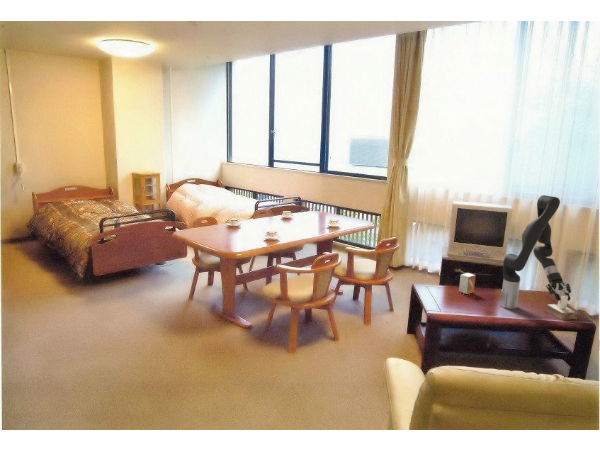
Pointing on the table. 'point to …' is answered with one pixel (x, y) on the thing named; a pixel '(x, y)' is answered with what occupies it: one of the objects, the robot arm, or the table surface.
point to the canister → (562, 302)
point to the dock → (561, 312)
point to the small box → (467, 283)
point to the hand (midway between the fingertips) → (564, 300)
